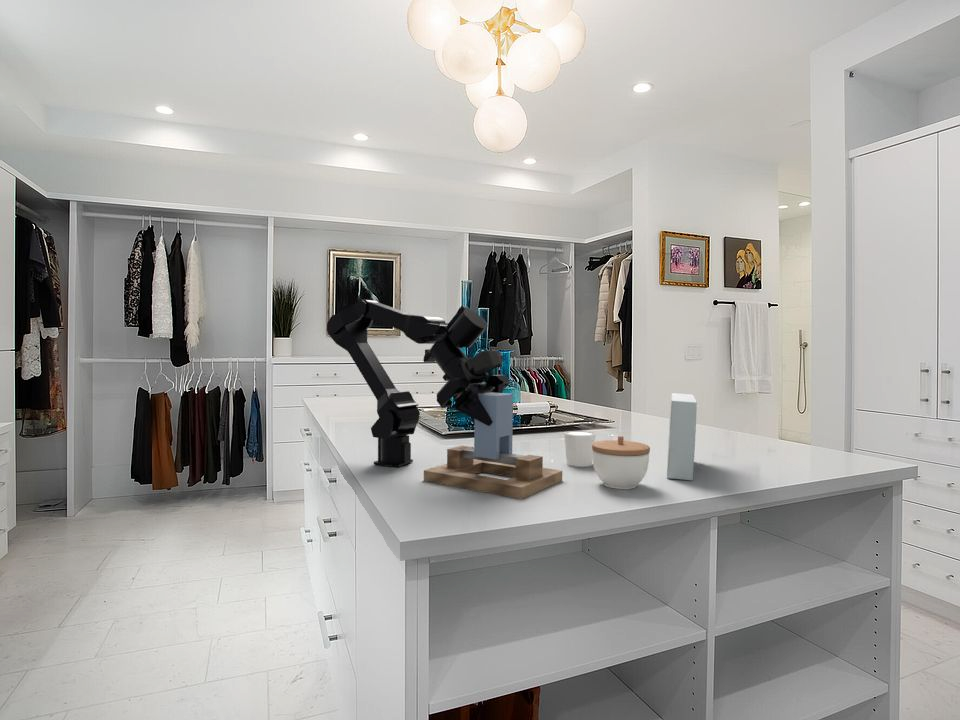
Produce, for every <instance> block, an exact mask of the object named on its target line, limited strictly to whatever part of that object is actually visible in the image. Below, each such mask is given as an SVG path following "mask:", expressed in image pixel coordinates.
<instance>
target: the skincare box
mask: <svg viewBox="0 0 960 720" xmlns="http://www.w3.org/2000/svg"><path fill="white" fill-rule="evenodd" d="M697 405H698V402H697V400H696V397H695V395H694V394H691V393H690V394H689V393H676V392H673V393H671V399H670V412H669V413H670V414H669V427H668V440H667V441H668V442H667V443H668V444H667V446H668V447H667V467H666V478H667V479H672V480H684V481H693V479H694V478H693V475H694V468H695V466H694V465H695V464H694V463H695V449H696V431H697V411H698V410H697V408H698V407H697Z"/></svg>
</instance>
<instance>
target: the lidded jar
mask: <svg viewBox="0 0 960 720" xmlns="http://www.w3.org/2000/svg"><path fill="white" fill-rule="evenodd" d="M592 450H593V460H592V466H593V470H594V472H595V474H596V476H597V477H598V479H599V480H600V481H601V482H602V483H603V486H605V487H607V488H609V489H610V488H611V489H616V490H632V489H635V488H637V485H639V484H640V483H642V481H643V479H644V478H645V477H646V475H647V472H648V468H649V462H650V451H651V447H650V446H649V445H648V444H646V443H642V442H639V441H638V442H636V441H631V440H630V441H629V440H624V436H621V435H619V436H617V439H616V440H615V439H613V440H610V439H609V440H598V441H595V442H594V443H593V444H592Z"/></svg>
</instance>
